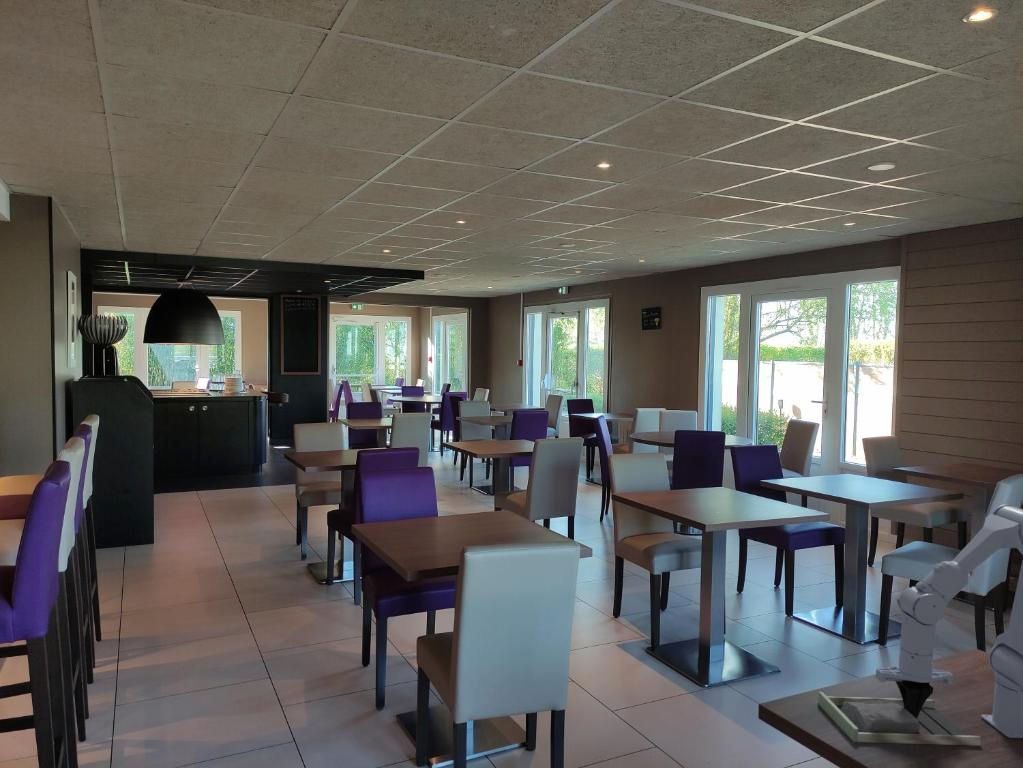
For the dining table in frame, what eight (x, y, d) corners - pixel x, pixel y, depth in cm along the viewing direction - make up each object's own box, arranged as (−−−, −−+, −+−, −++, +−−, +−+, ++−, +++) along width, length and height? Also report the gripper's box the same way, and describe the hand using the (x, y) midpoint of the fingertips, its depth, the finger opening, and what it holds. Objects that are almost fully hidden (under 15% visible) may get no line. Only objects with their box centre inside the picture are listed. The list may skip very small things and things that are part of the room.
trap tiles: (934, 709, 148) (934, 708, 148) (975, 742, 136) (975, 741, 136) (903, 708, 148) (903, 707, 148) (941, 741, 136) (941, 740, 136)
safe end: (821, 703, 148) (822, 691, 148) (857, 741, 134) (858, 729, 134) (817, 703, 148) (818, 691, 148) (853, 741, 134) (854, 728, 134)
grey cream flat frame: (932, 707, 149) (933, 699, 149) (980, 745, 135) (981, 737, 135) (821, 703, 148) (822, 696, 148) (857, 741, 134) (858, 733, 134)
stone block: (835, 722, 145) (868, 739, 135) (834, 697, 145) (867, 712, 136) (887, 722, 147) (923, 739, 137) (886, 697, 147) (923, 712, 138)
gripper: (939, 642, 145) (934, 707, 146) (869, 640, 145) (864, 705, 145) (962, 658, 138) (956, 726, 139) (889, 655, 138) (883, 723, 138)
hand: (911, 717), depth 142 cm, fingers closed
